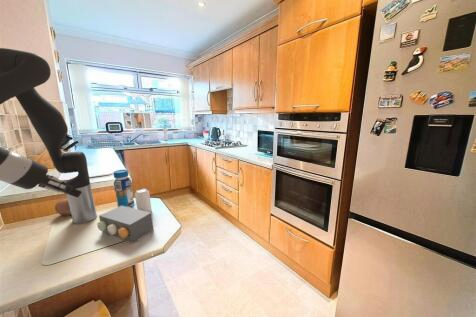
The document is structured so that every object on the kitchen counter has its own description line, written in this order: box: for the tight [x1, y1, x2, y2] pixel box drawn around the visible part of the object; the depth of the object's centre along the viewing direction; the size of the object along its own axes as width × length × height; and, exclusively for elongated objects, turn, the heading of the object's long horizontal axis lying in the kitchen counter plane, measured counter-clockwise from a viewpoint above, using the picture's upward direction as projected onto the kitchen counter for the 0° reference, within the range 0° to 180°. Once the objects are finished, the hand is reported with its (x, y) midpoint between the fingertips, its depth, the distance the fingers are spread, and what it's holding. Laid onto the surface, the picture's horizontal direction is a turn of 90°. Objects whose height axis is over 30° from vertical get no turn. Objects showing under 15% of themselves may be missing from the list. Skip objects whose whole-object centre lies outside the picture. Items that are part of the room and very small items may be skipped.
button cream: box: [107, 224, 118, 236], centre depth 79 cm, size 4×5×4 cm
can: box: [134, 187, 152, 213], centre depth 99 cm, size 6×6×12 cm
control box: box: [98, 206, 154, 244], centre depth 83 cm, size 19×10×8 cm, turn 66°
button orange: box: [118, 227, 129, 240], centre depth 76 cm, size 4×5×4 cm
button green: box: [97, 220, 108, 232], centre depth 81 cm, size 4×5×4 cm
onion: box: [54, 196, 72, 217], centre depth 100 cm, size 10×9×10 cm
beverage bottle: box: [112, 169, 135, 208], centre depth 107 cm, size 8×8×20 cm
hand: (78, 194), depth 67 cm, fingers closed
